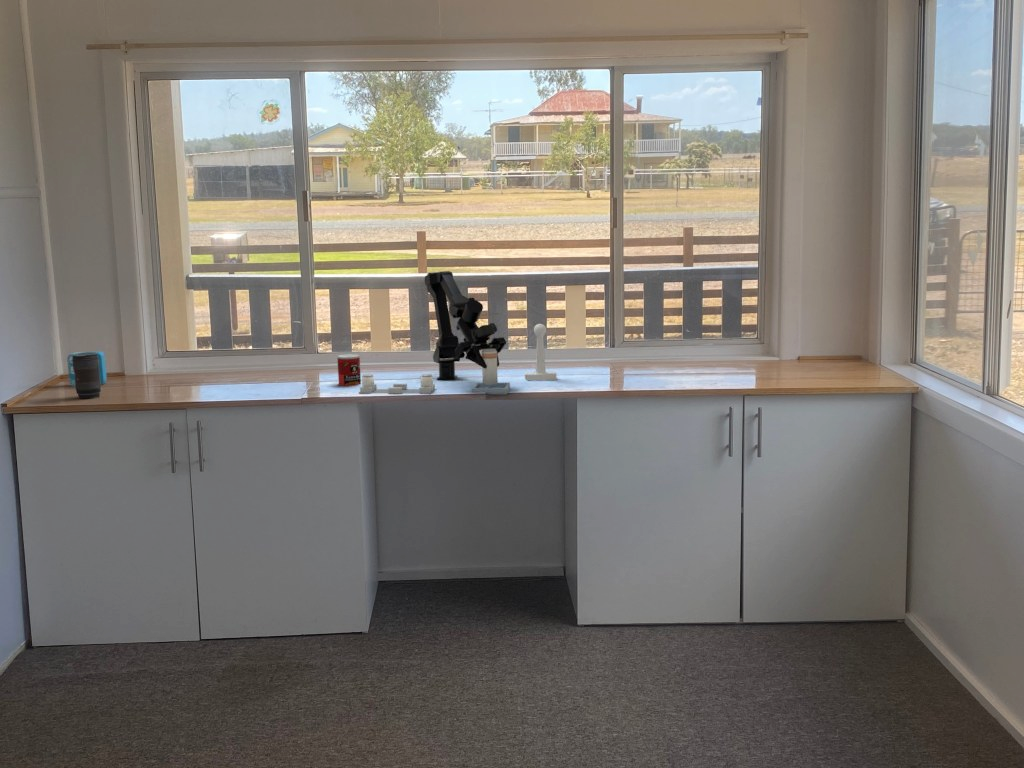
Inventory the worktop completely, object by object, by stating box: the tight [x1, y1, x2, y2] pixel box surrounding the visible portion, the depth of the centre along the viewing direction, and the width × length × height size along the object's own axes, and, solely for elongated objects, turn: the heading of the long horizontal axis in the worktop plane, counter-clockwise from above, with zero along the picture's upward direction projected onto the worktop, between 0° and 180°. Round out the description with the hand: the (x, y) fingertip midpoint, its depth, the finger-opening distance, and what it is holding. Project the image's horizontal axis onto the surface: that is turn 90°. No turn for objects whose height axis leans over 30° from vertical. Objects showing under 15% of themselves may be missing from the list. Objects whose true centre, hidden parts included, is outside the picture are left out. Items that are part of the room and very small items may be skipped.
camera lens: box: [72, 351, 102, 399], centre depth 344 cm, size 8×8×15 cm
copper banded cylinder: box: [481, 348, 499, 385], centre depth 339 cm, size 5×5×12 cm
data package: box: [66, 350, 108, 387], centre depth 370 cm, size 12×4×12 cm, turn 98°
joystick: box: [524, 323, 557, 381], centre depth 362 cm, size 11×8×20 cm
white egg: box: [361, 373, 375, 392], centre depth 340 cm, size 4×4×6 cm
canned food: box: [337, 353, 362, 387], centre depth 354 cm, size 8×8×11 cm
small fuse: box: [420, 373, 434, 393], centre depth 337 cm, size 4×4×6 cm
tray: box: [471, 382, 511, 396], centre depth 340 cm, size 12×12×2 cm
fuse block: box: [358, 383, 438, 395], centre depth 339 cm, size 9×25×3 cm, turn 83°
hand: (492, 366), depth 338 cm, fingers closed on copper banded cylinder, 5 cm apart
